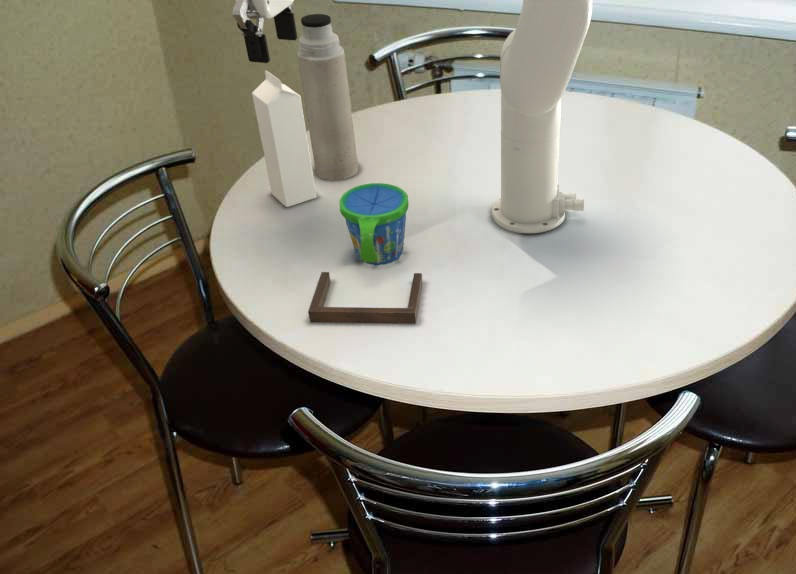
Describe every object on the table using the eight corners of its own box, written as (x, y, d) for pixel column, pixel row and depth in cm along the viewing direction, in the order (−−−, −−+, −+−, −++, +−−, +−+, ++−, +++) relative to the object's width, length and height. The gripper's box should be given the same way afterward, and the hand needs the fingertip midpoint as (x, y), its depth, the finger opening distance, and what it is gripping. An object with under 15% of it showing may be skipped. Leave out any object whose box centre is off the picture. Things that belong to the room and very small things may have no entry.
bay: (422, 283, 129) (421, 273, 127) (415, 324, 121) (414, 312, 120) (323, 282, 129) (321, 271, 128) (309, 322, 121) (307, 311, 120)
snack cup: (399, 285, 128) (393, 227, 122) (333, 279, 130) (324, 221, 123) (423, 232, 140) (419, 177, 134) (362, 227, 141) (355, 172, 135)
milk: (286, 208, 147) (262, 85, 132) (271, 194, 150) (246, 73, 136) (317, 197, 149) (297, 76, 135) (302, 184, 153) (281, 65, 139)
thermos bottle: (335, 157, 162) (314, 6, 144) (367, 167, 158) (349, 14, 140) (306, 173, 156) (281, 19, 138) (339, 184, 153) (317, 28, 135)
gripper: (247, -57, 109) (272, 73, 120) (302, -87, 122) (319, 33, 133) (195, -60, 110) (224, 69, 121) (254, -89, 123) (275, 29, 134)
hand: (274, 50), depth 127 cm, fingers open, 9 cm apart
